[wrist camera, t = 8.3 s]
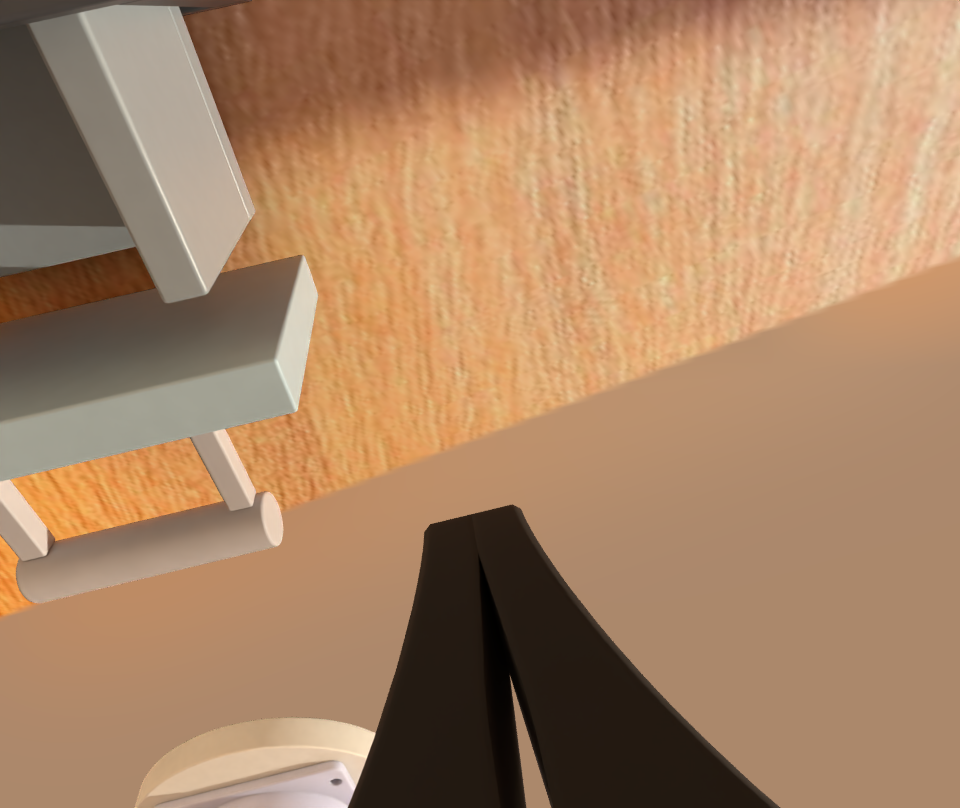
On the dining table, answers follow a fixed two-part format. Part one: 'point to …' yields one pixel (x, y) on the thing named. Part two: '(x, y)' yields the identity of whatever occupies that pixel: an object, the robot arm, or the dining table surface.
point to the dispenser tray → (138, 316)
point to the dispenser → (90, 8)
